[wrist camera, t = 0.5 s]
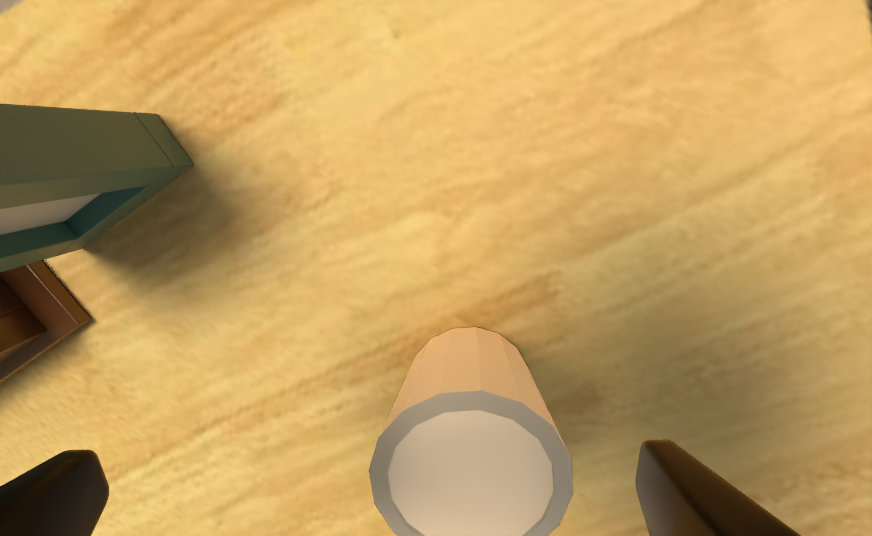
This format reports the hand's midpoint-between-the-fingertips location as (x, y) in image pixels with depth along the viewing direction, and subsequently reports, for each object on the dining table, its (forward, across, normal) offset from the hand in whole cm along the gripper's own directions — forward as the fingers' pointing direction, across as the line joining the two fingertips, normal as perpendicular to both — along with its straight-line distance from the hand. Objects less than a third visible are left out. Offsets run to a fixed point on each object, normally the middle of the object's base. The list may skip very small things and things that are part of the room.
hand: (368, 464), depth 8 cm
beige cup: (+13, -2, +8) cm, 16 cm away
